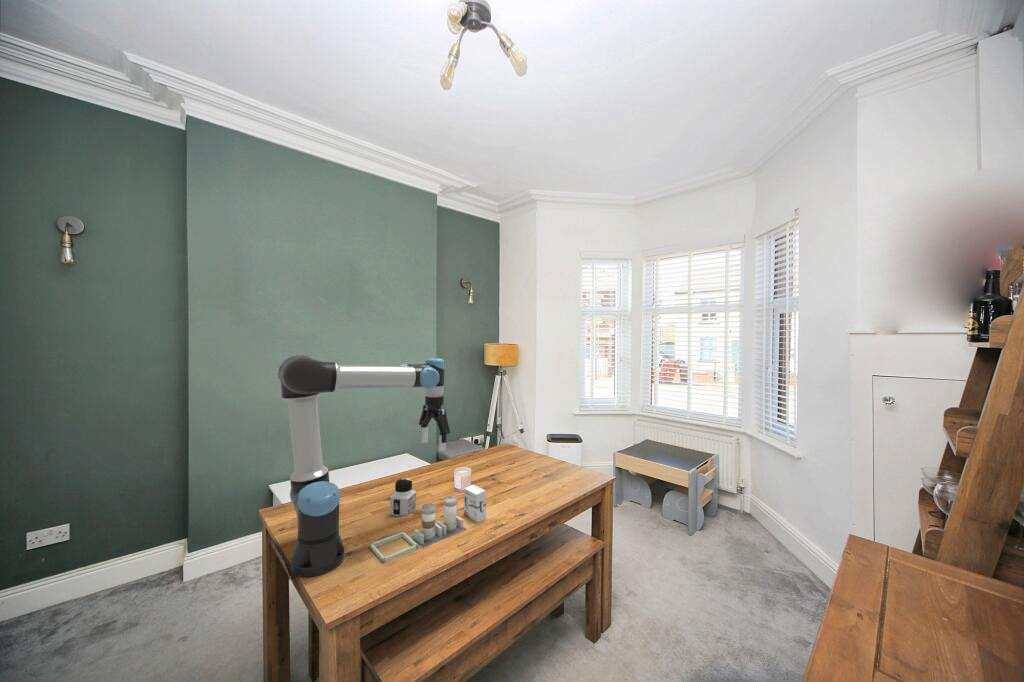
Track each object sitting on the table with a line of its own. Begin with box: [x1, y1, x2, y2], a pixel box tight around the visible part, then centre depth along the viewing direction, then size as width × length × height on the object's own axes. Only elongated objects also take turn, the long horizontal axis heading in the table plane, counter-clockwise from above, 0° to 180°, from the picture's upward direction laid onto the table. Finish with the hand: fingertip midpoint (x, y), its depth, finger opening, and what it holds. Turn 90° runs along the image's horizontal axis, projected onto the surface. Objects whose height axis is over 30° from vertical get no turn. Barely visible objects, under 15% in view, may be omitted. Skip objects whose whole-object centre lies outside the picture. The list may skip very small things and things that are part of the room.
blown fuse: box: [420, 502, 437, 541], centre depth 130 cm, size 5×5×11 cm
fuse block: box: [410, 515, 468, 548], centre depth 134 cm, size 18×9×4 cm, turn 132°
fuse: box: [443, 495, 458, 532], centre depth 136 cm, size 5×5×11 cm
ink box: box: [463, 484, 487, 523], centre depth 146 cm, size 9×5×12 cm, turn 44°
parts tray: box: [369, 531, 419, 564], centre depth 124 cm, size 12×11×2 cm
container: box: [389, 478, 417, 517], centre depth 150 cm, size 8×8×13 cm
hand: (433, 446), depth 154 cm, fingers open, 13 cm apart
